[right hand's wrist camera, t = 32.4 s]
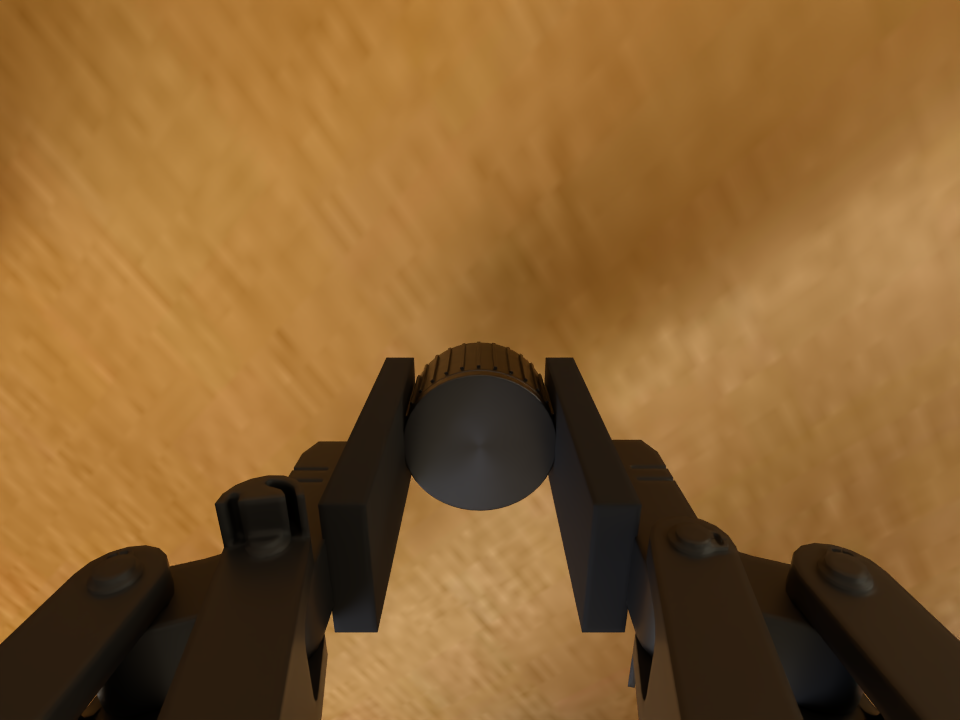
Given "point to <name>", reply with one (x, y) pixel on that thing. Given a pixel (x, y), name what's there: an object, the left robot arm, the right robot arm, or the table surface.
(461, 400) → the cap
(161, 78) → the table surface
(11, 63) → the table surface
